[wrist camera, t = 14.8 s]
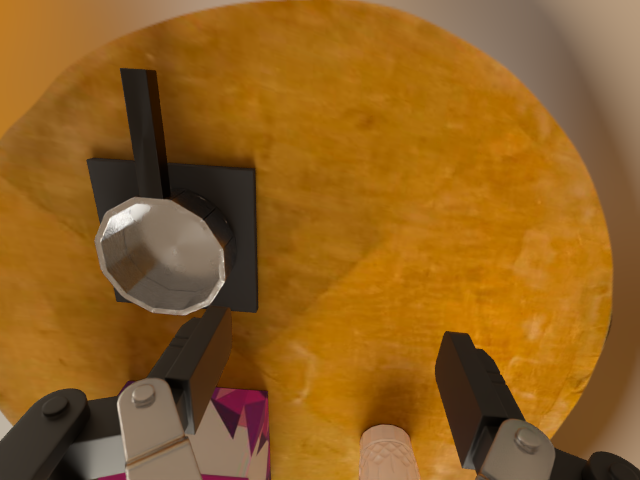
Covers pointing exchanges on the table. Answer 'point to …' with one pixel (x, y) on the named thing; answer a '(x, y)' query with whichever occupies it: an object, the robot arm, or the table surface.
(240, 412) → the decorative box
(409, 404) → the table surface
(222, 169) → the trivet
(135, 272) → the steel pan
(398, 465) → the white cup
